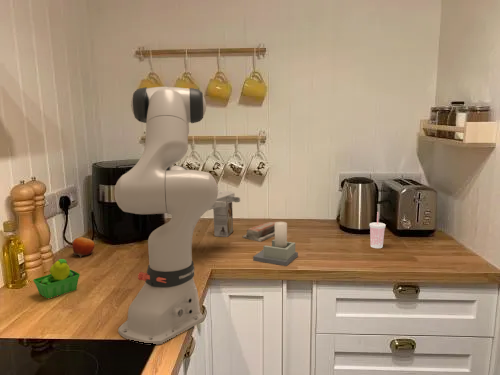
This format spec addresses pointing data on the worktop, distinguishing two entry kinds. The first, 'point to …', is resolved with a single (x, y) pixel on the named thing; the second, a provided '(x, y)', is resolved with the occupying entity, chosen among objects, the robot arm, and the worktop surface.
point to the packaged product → (261, 232)
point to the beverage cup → (377, 233)
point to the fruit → (83, 246)
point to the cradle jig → (277, 254)
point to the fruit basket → (57, 280)
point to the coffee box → (223, 221)
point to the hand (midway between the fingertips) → (233, 202)
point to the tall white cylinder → (281, 234)
